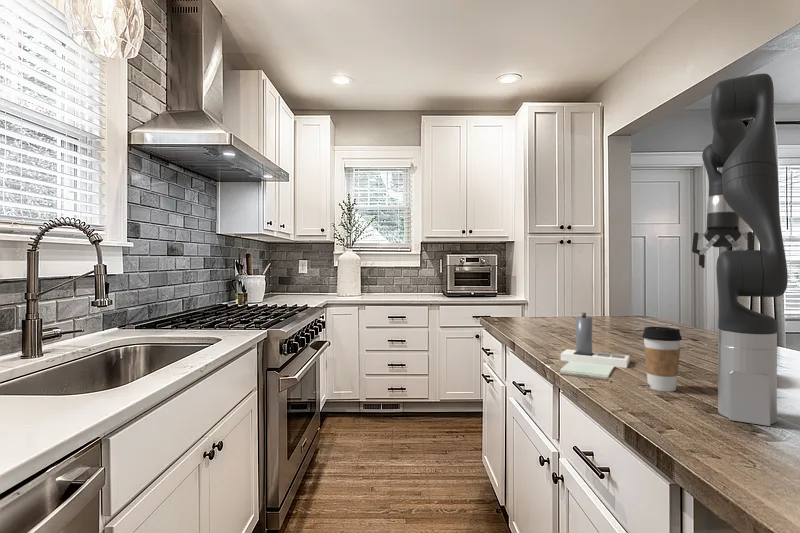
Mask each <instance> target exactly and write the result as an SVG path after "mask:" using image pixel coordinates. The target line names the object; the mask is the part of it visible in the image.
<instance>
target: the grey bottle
mask: <svg viewBox="0 0 800 533" xmlns="http://www.w3.org/2000/svg"><path fill="white" fill-rule="evenodd" d="M575 350H576V355H586V356H592V352H593V317H590V316H587V313H586V312H581V316H576V317H575Z"/></svg>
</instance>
